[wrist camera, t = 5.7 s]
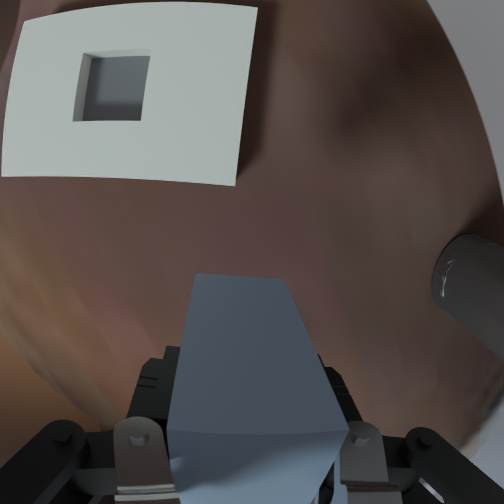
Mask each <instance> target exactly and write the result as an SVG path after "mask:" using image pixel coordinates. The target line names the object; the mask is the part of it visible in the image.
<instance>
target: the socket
mask: <svg viewBox="0 0 504 504" xmlns="http://www.w3.org/2000/svg"><path fill="white" fill-rule="evenodd" d="M257 10H258V8H257V7H249V6H240V5H230V4H218V3H201V2H147V3H130V4H118V5H108V6H100V7H92V8H86V9H79V10H73V11H68V12H63V13H58V14H53V15H48V16H44V17H40V18H36V19H32V20H28V21H24V25H23V28H22V32H21V35H20V39H19V43H18V47H17V51H16V56H15V60H14V65H13V70H12V75H11V80H10V86H9V92H8V99H7V106H6V114H5V123H4V134H3V148H2V174H1V177H6V176H77V177H111V178H133V179H151V180H167V181H181V182H194V183H207V184H218V185H229V186H235V180H236V172H237V163H238V154H239V146H240V138H241V129H242V121H243V113H244V105H245V97H246V90H247V82H248V74H249V67H250V60H251V52H252V45H253V38H254V31H255V24H256V17H257Z"/></svg>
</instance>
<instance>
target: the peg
mask: <svg viewBox="0 0 504 504" xmlns="http://www.w3.org/2000/svg"><path fill="white" fill-rule="evenodd" d="M349 430H350V429H349V427H348V424H347V422H346V420H345V417H344V415H343V413H342V410H341V408H340V406H339V403H338V401H337V399H336V396H335V394H334V392H333V390H332V387H331V385H330V383H329V380H328V378H327V376H326V373H325V371H324V369H323V367H322V364H321V362H320V360H319V357H318V355H317V353H316V351H315V348H314V346H313V344H312V342H311V339H310V337H309V335H308V333H307V330H306V328H305V326H304V324H303V321H302V319H301V317H300V315H299V312H298V310H297V308H296V306H295V303H294V301H293V299H292V297H291V295H290V292H289V290H288V288H287V286H286V284H285V281H284V280H280V279H266V278H253V277H240V276H227V275H215V274H203V273H196V275H195V280H194V284H193V289H192V293H191V298H190V303H189V308H188V313H187V318H186V323H185V328H184V333H183V338H182V343H181V348H180V353H179V359H178V364H177V370H176V375H175V381H174V387H173V392H172V398H171V404H170V410H169V416H168V423H167V440H168V449H169V458H170V467H171V473H172V477H173V481H174V485H175V488H176V489H177V492H178V495H179V499H180V502H181V504H310V503H311V501H312V500H313V498H314V496H315V494H316V493H317V491H318V489H319V488H320V486H321V484H322V482H323V480H324V479H325V477H326V475H327V473H328V471H329V470H330V468H331V466H332V464H333V462H334V460H335V458H336V456H337V454H338V452H339V450H340V448H341V446H342V444H343V442H344V440H345V438H346V436H347V434H348V432H349Z"/></svg>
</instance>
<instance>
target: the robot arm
mask: <svg viewBox="0 0 504 504" xmlns="http://www.w3.org/2000/svg"><path fill="white" fill-rule="evenodd" d="M432 291H433V296H434V299H435V301H436V303H437V304H438V305H439V306H440V307H441V308H442V309H444V310H445V311H446V312H447V313H448V314H450V315H451V316H452V317H453V318H454V319H456V320H457V321H458V322H459V323H460V324H461V325H462V326H464V327H465V328H466V329H467V330H468V331H469V332H471V333H472V334H473V335H474V336H475V337H476V338H478V339H479V340H480V341H481V342H482V343H483V344H484V345H486V346H487V347H488V348H489V349H490V350H491V351H492V352H493V353H495V354H496V355H497V356H498V357H499V358H500V359H501V360H502V361H503V362H504V247H502V246H500V245H498V244H496V243H494V242H491V241H489V240H487V239H485V238H482V237H480V236H478V235H475V234H471V233H470V234H464V235H461V236H459V237H457V238H456V239H454V240H453V241H452V242H451V243H450V244H449V245H448V246H447V247H446V248H445V250H444V251H443V253H442V254H441V256H440V258H439V260H438V262H437V265H436V267H435V270H434V275H433V279H432ZM180 348H181V347H174V346H166V349H165V353H164V357H163V359H157V358H150V359H149V360H148V361H147V362H146V363H145V364H144V365H143V366H142V369H141V372H140V375H139V378H138V381H137V386H136V388H135V391H134V394H133V397H132V401H131V404H130V407H129V411H128V414H127V417H126V419H124V420H122V421H120V422H119V423H118V424H117V425H116V426H115V428H114V429H113V430H110V431H104V432H87V433H85V432H84V430H83V428H82V427H81V426H80V425H78V424H77V423H75V422H73V421H70V420H56V421H53V422H51V423H49V424H47V425H46V426H45V427H44V428H43V429H42V430H41V431H40V432H39V433H37V434H36V435H35V436H34V437H33V438H32V439H31V440H30V441H29V442H28V443H27V444H26V445H25V446H24V447H23V448H21V450H19V451H18V452H17V453H16V454H15V455H14V456H13V457H12V458H11V459H10V460H9V461H8V462H7V463H6V464H5V465H4V466H3V467H1V468H0V504H97V503H98V502H99V500H100V499H101V498H102V497H103V495H113V494H115V503H116V504H181V502H180V499H179V495H178V492H177V489H176V488H175V485H174V481H173V477H172V473H171V467H170V458H169V449H168V440H167V423H168V416H169V410H170V404H171V398H172V392H173V387H174V381H175V375H176V370H177V364H178V359H179V353H180ZM317 355H318V357H319V360H320V362H321V364H322V367H323V369H324V371H325V373H326V376H327V378H328V380H329V383H330V385H331V387H332V390H333V392H334V394H335V396H336V399H337V401H338V403H339V406H340V408H341V410H342V413H343V415H344V417H345V420H346V422H347V424H348V427H349V429H350V430H349V432H348V434H347V436H346V438H345V440H344V442H343V444H342V446H341V448H340V450H339V452H338V454H337V456H336V458H335V460H334V462H333V464H332V466H331V468H330V470H329V471H328V473H327V475H326V477H325V479H324V480H323V482H322V484H321V486H320V488H319V489H318V491H317V493H316V494H315V503H314V504H504V489H503V488H502V487H500V486H499V485H498V484H497V483H495V482H494V481H493V480H492V479H491V478H489V477H488V476H487V475H486V474H485V473H484V472H482V471H481V470H480V469H479V468H478V467H476V466H475V465H474V464H473V463H471V462H470V461H469V460H468V459H467V458H466V457H465V456H463V455H462V454H461V453H460V452H459V451H458V450H456V449H455V448H454V447H453V446H452V445H450V444H449V443H448V442H447V441H446V440H445V439H443V438H442V437H441V436H440V435H439V434H438V433H436V432H435V431H433V430H431V429H429V428H424V427H418V428H414V429H412V430H410V431H409V432H408V434H407V435H406V437H405V438H400V437H389V436H383V435H381V433H380V431H379V430H378V429H377V428H376V427H375V426H373V425H372V424H370V423H367V422H364V421H363V420H362V418H361V416H360V414H359V412H358V409H357V407H356V405H355V403H354V401H353V399H352V397H351V395H350V394H349V391H348V389H347V387H345V383H344V381H343V379H342V377H341V375H340V374H339V373H338V372H337V371H335V370H334V369H333V368H332V367H325V366H324V364H323V362H322V360H321V357H320V355H319V354H317ZM421 478H423V479H424V480H425V481H426V482H427V483H428V484H429V485H430V486H431V487H432V488H433V489H434V490H435V491H436V492H438V493H439V494H440V495H441V496H442V497H443V500H444V503H441V502H440V501H439V500H438V499H437V498H435V496H433V495H432V494H431V493H430V492H429V491H428V490H427V489H426V488H425V487H424V486H423V485H422V484H421V483H420V482H419V480H420V479H421Z"/></svg>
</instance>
